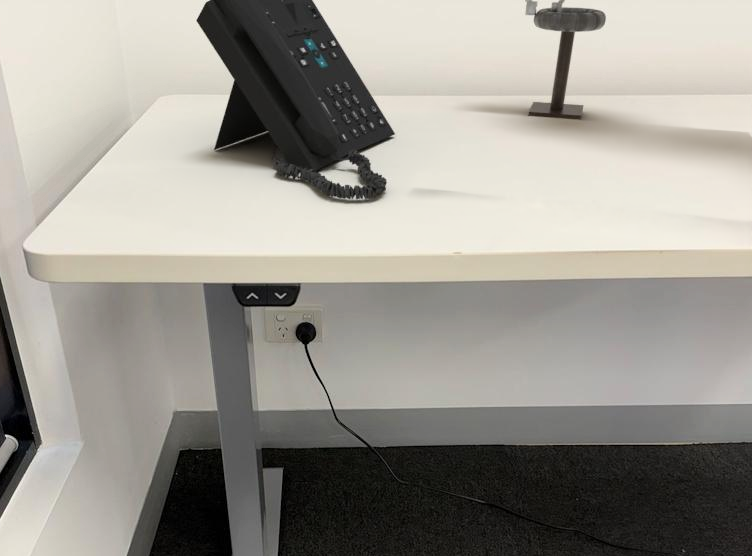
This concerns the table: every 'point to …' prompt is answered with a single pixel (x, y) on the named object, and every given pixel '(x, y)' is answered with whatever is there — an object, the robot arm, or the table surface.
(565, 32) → the stand
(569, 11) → the ring
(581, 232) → the table surface
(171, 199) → the table surface
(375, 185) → the office phone
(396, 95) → the table surface
